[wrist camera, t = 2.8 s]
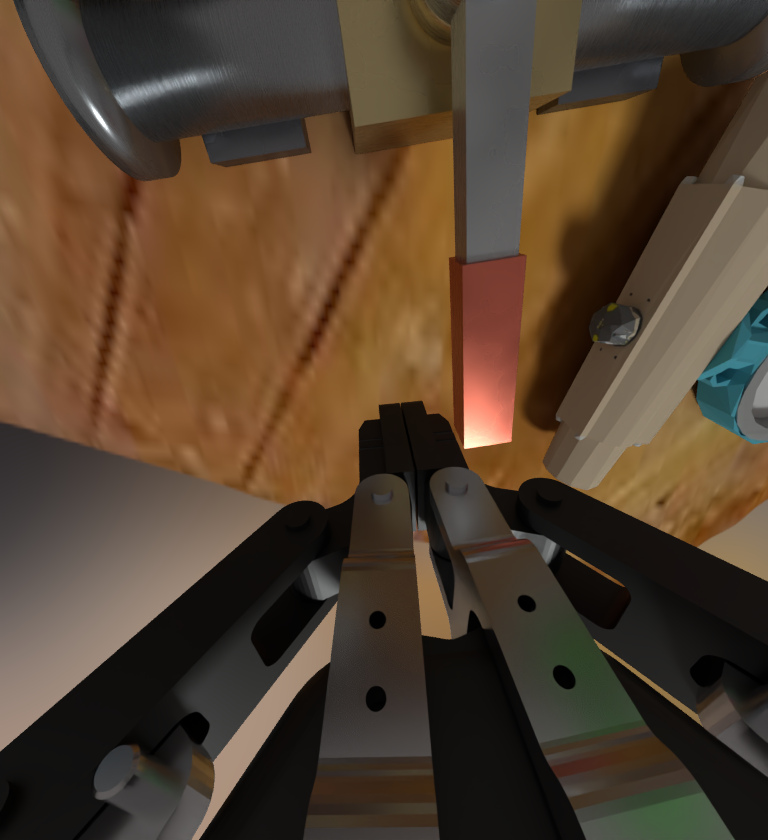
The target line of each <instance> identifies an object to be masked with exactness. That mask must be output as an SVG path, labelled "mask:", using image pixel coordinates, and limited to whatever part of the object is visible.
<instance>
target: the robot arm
mask: <svg viewBox="0 0 768 840" xmlns="http://www.w3.org/2000/svg"><path fill="white" fill-rule="evenodd" d="M379 415H380V419H376V420H366V421H364V423H363V424H362V426H361V427H360V429H359V472H360V482H359V485H358V486H357V488H356V491H355V494H354V495H353V496H352V497H351V498H349V499H348V500H347V501H345V502H343V503H341V504H339V505H336V506H334V507H331V508H328V509H325V508H324V507H323V506H322V505H320V504H319V503H316V502H313V501H298V502H294V503H291V504H289V505H287V506H285V507H283V508H282V509H281V510H279V512H277V513H276V514H275V515H274V516H272V517H271V518H270V519H269V520H268V521H267V522H265V523H264V524H263V525H262V526H261V527H260V528H259V529H257V530H256V531H255V532H254V533H253V534H252V535H251V536H249V537H248V538H247V539H246V540H245V541H243V542H242V543H241V544H240V545H239V546H238V547H237V548H235V550H233V551H232V552H231V553H230V554H228V555H227V556H226V557H225V558H224V559H223V560H222V561H220V562H219V563H218V564H217V565H216V566H215V567H213V568H212V569H211V570H210V571H209V572H208V573H206V574H205V575H204V576H203V577H202V578H201V579H200V580H198V581H197V582H196V583H195V584H194V585H193V586H191V587H190V588H189V589H188V590H187V591H186V592H185V593H183V594H182V595H181V596H180V597H179V598H178V599H176V600H175V601H174V602H173V603H172V604H171V605H169V606H168V607H167V608H166V609H165V610H164V611H162V612H161V613H160V614H159V615H158V616H157V617H156V618H154V619H153V620H152V621H151V622H150V623H149V624H148V625H146V626H145V627H144V628H143V629H142V630H141V631H139V632H138V633H137V634H136V635H135V636H134V637H132V638H131V639H130V640H129V641H128V642H127V643H126V644H124V645H123V646H122V647H121V648H120V649H119V650H117V651H116V652H115V653H114V654H113V655H112V656H111V657H109V658H108V659H107V660H106V661H105V662H103V663H102V664H101V665H100V666H99V667H98V668H97V669H95V670H94V671H93V672H92V673H91V674H90V675H89V676H87V677H86V678H85V679H84V680H83V681H81V683H79V684H78V685H77V686H76V687H75V688H73V689H72V690H71V691H70V692H69V693H68V694H66V695H65V696H64V697H63V698H62V699H61V700H60V701H58V702H57V703H56V704H55V705H54V706H53V707H52V708H50V709H49V710H48V711H47V712H46V713H44V714H43V715H42V716H41V717H40V718H39V719H38V720H36V721H35V722H34V723H33V724H32V725H31V726H29V727H28V728H27V729H26V730H25V731H24V732H23V733H21V734H20V735H19V736H18V737H17V738H16V739H14V740H13V741H12V742H11V743H10V744H9V745H7V746H6V747H5V748H4V749H3V750H2V751H0V840H191V839H192V837H193V836H194V834H195V832H196V831H197V829H198V827H199V825H200V824H201V822H202V820H203V818H204V816H205V814H206V812H207V809H208V807H209V804H210V801H211V797H212V793H213V788H214V779H215V772H214V765H213V761H214V760H215V759H216V758H217V756H218V755H219V753H220V752H221V751H222V750H223V748H224V747H225V746H226V745H227V743H228V742H229V741H230V739H231V738H232V737H233V735H234V734H235V733H236V732H237V730H238V729H239V728H240V726H241V725H242V724H243V722H244V721H245V720H246V719H247V717H248V716H249V715H250V713H251V712H252V711H253V710H254V708H255V707H256V706H257V704H258V703H259V702H260V701H261V699H262V698H263V696H264V695H265V694H266V693H267V691H268V690H269V689H270V687H271V686H272V685H273V684H274V682H275V681H276V680H277V678H278V677H279V676H280V675H281V673H282V672H283V671H284V669H285V668H286V667H287V666H288V664H289V663H290V661H291V660H292V659H293V658H294V656H295V655H296V654H297V652H298V651H299V650H300V649H301V647H302V646H303V644H305V642H306V641H307V640H308V638H309V637H310V636H311V634H312V633H313V632H314V631H315V629H316V628H317V627H318V625H319V624H320V623H321V621H322V620H323V619H324V617H325V616H326V615H327V614H328V612H329V611H330V610H331V608H332V607H333V606H334V605H335V603H336V602H337V601H338V602H337V610H336V620H335V627H334V635H333V645H332V653H331V661H330V663H328V664H327V665H326V666H324V667H323V668H322V669H321V670H319V671H318V672H317V673H316V674H315V675H314V676H313V677H312V678H311V679H310V680H309V681H308V682H307V683H306V684H305V685H304V686H303V688H302V689H301V690H300V691H299V692H298V693H297V695H296V696H295V698H294V699H293V701H292V702H291V703H290V705H289V707H288V708H287V709H286V711H285V712H284V714H283V715H282V717H281V718H280V720H279V721H278V723H277V724H276V726H275V727H274V729H273V730H272V732H271V733H270V735H269V736H268V738H267V739H266V741H265V742H264V744H263V745H262V747H261V748H260V750H259V751H258V753H257V754H256V756H255V757H254V759H253V760H252V762H251V763H250V765H249V766H248V768H247V769H246V771H245V772H244V774H243V775H242V776H241V778H240V779H239V781H238V783H237V784H236V786H235V787H234V789H233V790H232V791H231V793H230V795H229V796H228V798H227V799H226V800H225V802H224V804H223V805H222V807H221V808H220V809H219V811H218V812H217V814H216V815H215V817H214V818H213V820H212V821H211V823H210V824H209V826H208V827H207V829H206V830H205V832H204V833H203V835H202V836H201V838H200V839H199V840H768V581H765V580H763V579H761V578H759V577H757V576H755V575H753V574H751V573H749V572H747V571H744V570H743V569H740V568H738V567H736V566H734V565H732V564H730V563H728V562H726V561H724V560H722V559H719V558H717V557H715V556H713V555H711V554H709V553H707V552H705V551H703V550H701V549H699V548H697V547H695V546H692V545H690V544H688V543H686V542H684V541H682V540H680V539H678V538H676V537H674V536H672V535H670V534H667V533H665V532H663V531H661V530H659V529H657V528H655V527H653V526H651V525H649V524H647V523H644V522H642V521H640V520H638V519H636V518H634V517H632V516H630V515H628V514H626V513H624V512H622V511H619V510H617V509H615V508H613V507H611V506H609V505H607V504H605V503H603V502H601V501H599V500H597V499H594V498H592V497H590V496H588V495H586V494H584V493H582V492H580V491H578V490H576V489H574V488H571V487H569V486H567V485H565V484H563V483H561V482H559V481H556V480H552V479H548V478H533V479H529V480H527V481H525V482H524V483H522V485H521V486H520V488H519V491H515V490H508V489H501V488H495V487H492V486H488V485H486V484H484V482H483V481H482V479H481V478H480V477H479V476H478V475H477V474H476V473H474V472H473V471H471V470H469V468H468V466H467V464H466V461H465V459H464V457H463V454H462V452H461V450H460V447H459V445H458V443H457V441H456V438H455V436H454V433H453V432H452V429H451V426H450V424H449V422H448V421H447V420H446V419H445V418H444V417H442V416H441V415H440V414H439V413H438V414H428V415H427V413H426V410H425V407H424V404H423V402H422V401H414V402H404V403H401V407H400V403H394V404H384V405H379ZM416 521H417V526H418V531H419V530H427V532H428V537H429V554H430V558H431V561H432V564H433V568H434V571H435V574H436V578H437V581H438V584H439V587H440V591H441V594H442V598H443V601H444V604H445V608H446V611H447V614H448V618H449V623H450V629H451V637H452V639H450V640H448V639H441V638H436V637H429V636H423V635H421V623H420V610H419V598H418V586H417V575H416V564H415V555H414V549H413V531H416ZM566 550H568V551H569V552H571V553H573V554H574V555H576V556H578V557H579V558H581V559H583V560H584V561H586V562H588V563H589V564H591V565H593V566H594V567H596V568H598V569H599V570H601V571H603V572H604V573H606V574H608V575H609V576H611V577H613V578H614V579H616V580H618V581H619V582H620V583H622V584H623V585H624V586H625V587H622V586H620V585H618V584H616V583H614V582H613V581H611V580H609V579H608V578H606V577H604V576H603V575H601V574H599V573H598V572H596V571H594V570H593V569H591V568H590V567H588V566H586V565H585V564H583V563H581V562H580V561H578V560H576V559H575V558H573V557H571V556H570V555H568V554H566ZM594 639H595V640H596V641H598V642H599V643H600V644H602V645H603V646H605V647H606V648H607V649H609V650H610V651H611V652H613V653H614V654H615V655H617V656H618V657H619V658H621V659H623V660H624V661H625V662H626V663H628V664H629V665H630V666H632V667H633V668H635V669H636V670H637V671H639V672H640V673H641V674H643V675H644V676H646V677H647V678H648V679H650V680H651V681H652V682H654V683H655V684H657V685H658V686H659V687H661V688H662V689H663V690H665V691H666V692H668V693H669V694H670V695H671V696H673V697H674V698H676V699H677V700H678V701H680V702H681V703H682V704H684V705H685V706H687V707H688V708H690V709H691V710H692V711H694V712H695V713H696V714H698V716H699V719H700V721H701V724H702V725H703V727H702V726H701V725H700V724H698V723H697V722H696V721H695V720H693V719H692V718H691V717H689V716H688V715H687V714H685V713H684V712H683V711H682V710H680V709H679V708H678V707H676V706H675V705H674V704H673V703H671V702H670V701H669V700H667V699H666V698H665V697H664V696H662V695H661V694H660V693H658V692H657V691H656V690H655V689H653V688H652V687H651V686H649V685H648V684H647V683H646V682H644V681H643V680H642V679H640V678H639V677H638V676H636V675H635V674H634V673H633V672H631V671H630V670H629V669H627V668H626V667H625V666H624V665H622V664H621V663H620V662H618V661H617V660H616V659H614V658H612V657H611V656H610V655H608V654H607V653H605V652H603V651H602V650H600V649H599V648H598V646H597V644H596V643H595V641H594Z"/></svg>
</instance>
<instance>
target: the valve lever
mask: <svg viewBox="0 0 768 840" xmlns="http://www.w3.org/2000/svg"><path fill="white" fill-rule="evenodd" d="M425 1H426V3H427V4H428V5H429V7H430V8H431V10H432V11H433V12H434V13H435V14H436V15H437V16H438V17H439V18H440V19H442V20H443V21H444V22H446V23H447V24H449V25H451V62H452V111H453V160H454V210H455V257H450V258H449V269H450V303H451V337H452V371H453V405H454V426H455V428H456V431H457V433H458V435H459V438H460V440H461V442H462V444H463V447H464V449H466V448H472V447H479V446H486V445H492V444H499V443H506V442H511V435H512V423H513V411H514V399H515V387H516V375H517V363H518V351H519V340H520V328H521V316H522V304H523V292H524V280H525V268H526V256H527V255H524V254H521V253H519V240H520V226H521V213H522V199H523V185H524V171H525V157H526V143H527V129H528V116H529V102H530V88H531V74H532V60H533V46H534V32H535V19H536V5H537V0H425Z"/></svg>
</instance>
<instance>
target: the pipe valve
mask: <svg viewBox="0 0 768 840" xmlns="http://www.w3.org/2000/svg"><path fill="white" fill-rule="evenodd" d="M13 1H14V4H15V7H16V10H17V12H18V15H19V17H20V20H21V22H22V25H23V27H24V29H25V32H26V34H27V36H28V38H29V40H30V42H31V45H32V47H33V49H34V51H35V53H36V55H37V57H38V58H39V60H40V62H41V64H42V66H43V68H44V70H45V72H46V73H47V75H48V77H49V78H50V80H51V82H52V84H53V85H54V87H55V89H56V90H57V92H58V93H59V95H60V97H61V98H62V100H63V101H64V103H65V105H66V106H67V107H68V109H69V110H70V112H71V113H72V115H73V116H74V118H75V119H76V120H77V122H78V123H79V124H80V126H81V127H82V128H83V130H84V131H85V132H86V134H87V135H88V136H89V137H90V138H91V140H92V141H93V142H94V143H95V144H96V146H97V147H98V148H99V149H100V150H101V151H102V152H103V153H104V154H105V155H106V156H107V158H109V159H110V160H111V161H112V162H113V163H114V164H115V165H116V166H117V167H118V168H120V169H121V170H122V171H123V172H125V173H126V174H128V175H129V176H131V177H133V178H135V179H137V180H140V181H152V180H158V179H164V178H170V177H174V176H176V175H177V173H178V172H179V170H180V166H181V147H180V140H179V139H182V138H188V137H194V136H200V135H202V137H203V140H204V143H205V146H206V149H207V152H208V155H209V158H210V161H211V163H212V164H216V165H220V166H223V167H230V166H236V165H242V164H248V163H254V162H260V161H266V160H272V159H278V158H284V157H290V156H296V155H302V154H308V153H311V148H310V143H309V139H308V134H307V129H306V124H305V119H304V118H306V117H311V116H317V115H323V114H329V113H335V112H341V111H347V110H349V112H350V119H351V126H352V133H353V140H354V147H355V154H361V153H367V152H373V151H379V150H385V149H391V148H397V147H403V146H409V145H415V144H421V143H427V142H433V141H439V140H445V139H451V138H453V111H452V62H451V25H449V24H447V23H446V22H444V21H443V20H442V19H440V18H439V17H438V16H437V15H436V14H435V13H434V12H433V11H432V10H431V8H430V7H429V5H428V4H427V3H426V1H425V0H13ZM676 54H680V57H681V63H682V66H683V69H684V72H685V73H686V75H687V77H688V78H689V79H690V80H691V81H692V82H693V83H695V84H697V85H700V86H704V87H708V86H717V85H723V84H729V83H735V82H740V81H744V80H748V79H750V78H753V77H755V76H757V75H759V74H761V73H763V72H765V71H767V70H768V0H537V5H536V19H535V32H534V46H533V60H532V74H531V88H530V102H529V112H531V111H533V110H535V109H537V115H540V114H546V113H552V112H558V111H563V110H569V109H575V108H581V107H587V106H593V105H599V104H605V103H611V102H617V101H623V100H627V99H629V98H632V97H635V96H637V95H640V94H643V93H645V92H648V91H650V90H653V89H656V88H657V85H658V80H659V76H660V71H661V67H662V62H663V57H664V56H670V55H676Z"/></svg>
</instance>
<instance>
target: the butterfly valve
mask: <svg viewBox="0 0 768 840" xmlns="http://www.w3.org/2000/svg"><path fill="white" fill-rule="evenodd" d="M767 286H768V71H767V72H766V73H764V74H762V75H761V76H759V77H757V78H756V79H755V81H754V83H753V84H752V86H751V88H750V89H749V91H748V93H747V94H746V96H745V98H744V100H743V101H742V103H741V105H740V106H739V108H738V110H737V112H736V113H735V115H734V117H733V118H732V120H731V122H730V123H729V125H728V127H727V129H726V130H725V132H724V134H723V135H722V137H721V139H720V141H719V142H718V144H717V146H716V147H715V149H714V151H713V153H712V154H711V156H710V158H709V159H708V161H707V163H706V164H705V166H704V168H703V170H702V171H701V173H700V175H699V176H698V177H696V176H686V177H685V179H684V180H683V181H682V182H681V183H680V184H679V186H678V188H677V190H676V192H675V194H674V196H673V197H672V199H671V201H670V203H669V205H668V207H667V209H666V210H665V212H664V214H663V216H662V218H661V220H660V222H659V223H658V225H657V227H656V229H655V231H654V233H653V235H652V236H651V238H650V240H649V242H648V244H647V246H646V248H645V249H644V251H643V253H642V255H641V257H640V259H639V261H638V262H637V264H636V266H635V268H634V270H633V272H632V274H631V275H630V277H629V279H628V281H627V283H626V285H625V287H624V288H623V290H622V292H621V294H620V296H619V298H618V300H617V301H616V303H612V302H611V303H609V304H608V305H606V306H605V307H602V309H600V310H599V311H597V312H596V313H594V314H593V316H592V319H591V322H590V325H589V332H590V335H591V338H592V341H595V342H594V344H593V346H592V348H591V350H590V352H589V354H588V355H587V357H586V359H585V361H584V363H583V365H582V367H581V368H580V370H579V372H578V374H577V376H576V378H575V380H574V381H573V383H572V385H571V387H570V389H569V391H568V393H567V394H566V396H565V398H564V400H563V402H562V404H561V406H560V407H559V409H558V411H557V413H556V420H557V421H559V422H561V423H560V425H559V427H558V430H557V432H556V434H555V436H554V438H553V440H552V442H551V444H550V446H549V448H548V450H547V452H546V455H545V457H544V459H543V463H544V465H545V467H546V469H547V470H548V471H549V472H550V473H551V474H552V475H553V476H554V477H555V478H556V479H558V480H560V481H562V482H564V483H565V484H567V485H569V486H572V487H576V488H580V489H584V490H589V489H591V488H594V487H596V486H598V485H599V483H600V482H601V481H602V479H603V478H604V477H605V475H606V474H607V473H608V471H609V470H610V469H611V467H612V466H613V465H614V463H615V462H616V461H617V460H618V458H619V457H620V456H621V454H622V453H623V452H624V450H625V449H626V448H627V447H630V446H632V445H634V446H638V447H639V446H640V445H642V444H649V443H650V441H651V440H652V439H653V437H654V436H655V435H656V433H657V432H658V431H659V429H660V428H661V427H662V425H663V424H664V423H665V421H666V420H667V419H668V417H669V416H670V415H671V413H672V412H673V411H674V410H675V408H676V407H677V406H678V404H679V403H680V402H681V400H682V399H683V398H684V396H685V395H686V394H687V392H688V391H689V390H690V388H691V387H692V386H693V384H694V383H695V382H696V380H698V387H697V396H696V399H697V402H698V404H699V407H700V409H701V411H702V414H703V416H705V417H706V418H708V419H710V420H712V421H713V422H715V423H717V424H719V425H720V426H722V427H724V428H726V429H728V430H729V431H731V432H733V433H735V434H736V435H738V436H740V437H742V438H743V439H745V440H747V441H749V442H751V443H752V444H757V443H764V442H768V290H767V291H766V292H765V293H764V294H763V295H762V296H760V295H761V294H762V293H763V291H764V290H765V289H766V287H767Z"/></svg>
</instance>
